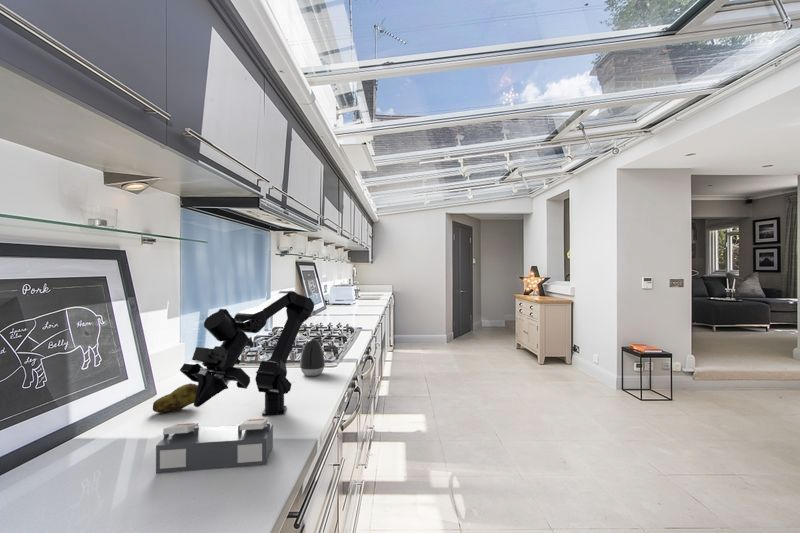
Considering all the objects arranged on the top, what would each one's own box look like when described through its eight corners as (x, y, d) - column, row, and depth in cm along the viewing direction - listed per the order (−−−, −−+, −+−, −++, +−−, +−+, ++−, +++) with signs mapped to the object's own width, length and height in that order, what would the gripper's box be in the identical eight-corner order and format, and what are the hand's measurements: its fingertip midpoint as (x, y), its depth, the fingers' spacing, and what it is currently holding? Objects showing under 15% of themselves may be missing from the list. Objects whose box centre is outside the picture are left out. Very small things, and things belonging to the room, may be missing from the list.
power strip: (173, 454, 94) (173, 421, 94) (272, 447, 98) (272, 415, 98) (155, 474, 85) (155, 437, 85) (266, 465, 89) (266, 430, 89)
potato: (161, 407, 127) (161, 382, 127) (204, 404, 129) (204, 380, 129) (149, 416, 118) (149, 390, 118) (195, 414, 120) (195, 388, 120)
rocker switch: (246, 424, 96) (246, 419, 96) (267, 423, 96) (268, 418, 97) (239, 430, 89) (239, 424, 89) (262, 428, 90) (262, 422, 90)
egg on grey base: (330, 373, 167) (330, 337, 167) (312, 379, 158) (312, 341, 158) (312, 370, 172) (312, 335, 173) (294, 375, 164) (294, 339, 164)
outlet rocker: (175, 429, 93) (176, 424, 93) (198, 428, 94) (198, 422, 94) (162, 434, 86) (163, 428, 87) (187, 432, 87) (187, 426, 88)
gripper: (185, 331, 104) (146, 385, 94) (241, 335, 97) (205, 394, 87) (210, 355, 111) (175, 407, 101) (263, 360, 104) (232, 417, 94)
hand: (195, 406), depth 96 cm, fingers closed
